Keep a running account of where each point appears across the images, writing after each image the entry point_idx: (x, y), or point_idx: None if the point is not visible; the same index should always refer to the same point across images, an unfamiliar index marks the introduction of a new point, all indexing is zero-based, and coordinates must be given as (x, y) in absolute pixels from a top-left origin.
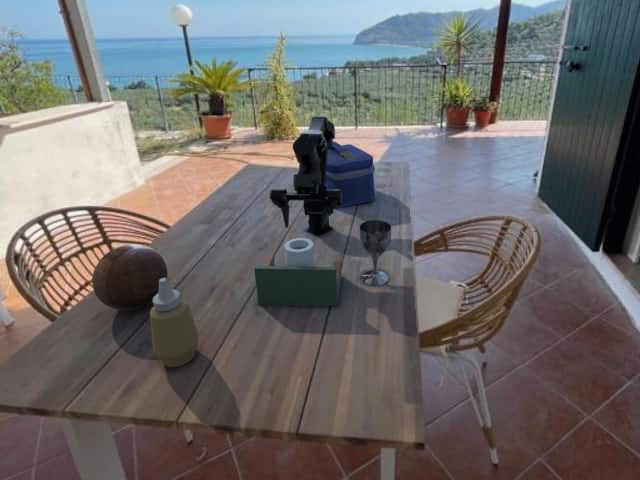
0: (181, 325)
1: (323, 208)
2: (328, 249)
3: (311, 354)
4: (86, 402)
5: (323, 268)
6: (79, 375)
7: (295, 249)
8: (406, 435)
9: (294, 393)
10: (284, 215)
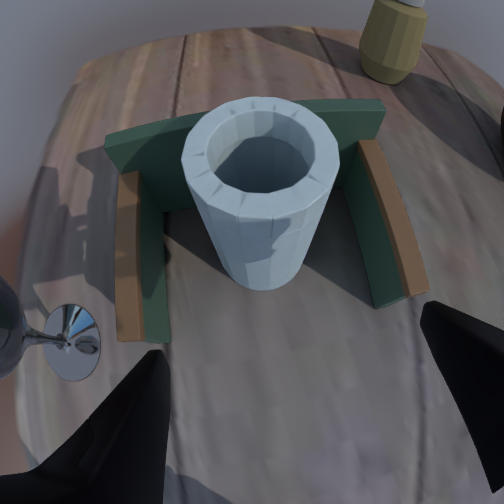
0: (371, 9)
1: (96, 470)
2: (246, 499)
3: (186, 92)
4: None
5: (144, 129)
6: (448, 66)
7: (260, 108)
8: (88, 63)
9: (198, 53)
10: (493, 333)
